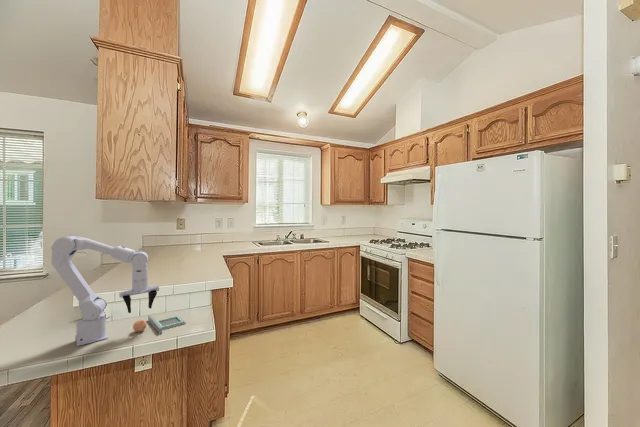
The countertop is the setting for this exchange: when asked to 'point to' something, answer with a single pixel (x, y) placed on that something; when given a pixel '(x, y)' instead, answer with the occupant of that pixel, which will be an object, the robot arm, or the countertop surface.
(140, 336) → the countertop surface
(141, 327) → the ball
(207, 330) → the countertop surface
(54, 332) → the countertop surface
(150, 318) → the acrylic wall
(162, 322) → the pad
